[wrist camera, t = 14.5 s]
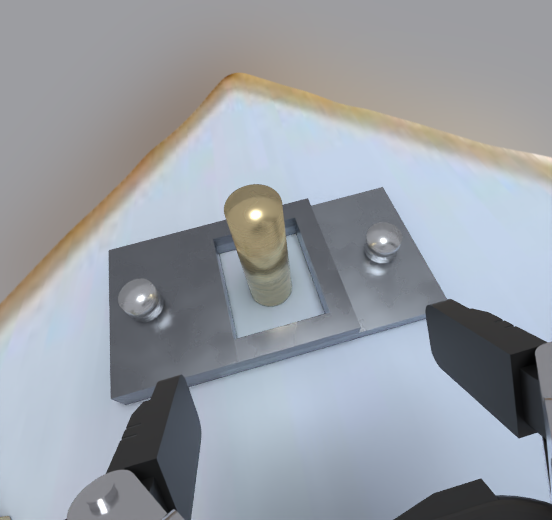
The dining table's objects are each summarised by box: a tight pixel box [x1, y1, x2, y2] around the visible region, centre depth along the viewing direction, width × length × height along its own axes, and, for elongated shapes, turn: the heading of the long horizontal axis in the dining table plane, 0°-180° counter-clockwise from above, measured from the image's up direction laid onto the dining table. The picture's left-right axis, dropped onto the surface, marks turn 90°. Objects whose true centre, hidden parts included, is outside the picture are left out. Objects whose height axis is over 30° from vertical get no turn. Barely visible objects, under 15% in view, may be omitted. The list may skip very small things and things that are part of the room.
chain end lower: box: [216, 187, 447, 377], centre depth 30 cm, size 18×13×3 cm
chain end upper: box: [109, 198, 361, 405], centre depth 29 cm, size 18×13×4 cm
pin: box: [224, 184, 292, 306], centre depth 27 cm, size 4×4×11 cm
